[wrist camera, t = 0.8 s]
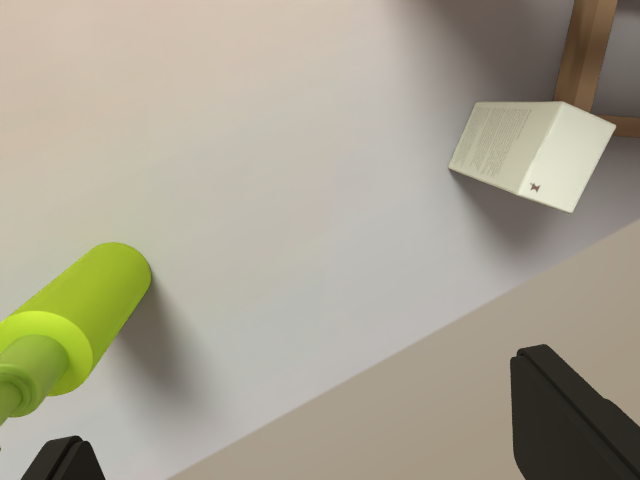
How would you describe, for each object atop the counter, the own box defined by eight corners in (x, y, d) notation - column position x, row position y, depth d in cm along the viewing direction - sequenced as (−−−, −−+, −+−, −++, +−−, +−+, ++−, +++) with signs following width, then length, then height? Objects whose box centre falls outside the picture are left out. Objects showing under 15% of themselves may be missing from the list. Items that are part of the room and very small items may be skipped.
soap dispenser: (149, 232, 39) (22, 362, 20) (152, 305, 41) (40, 488, 22) (77, 229, 38) (-125, 360, 19) (84, 303, 40) (-93, 489, 21)
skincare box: (488, 183, 40) (571, 218, 28) (445, 167, 39) (514, 196, 28) (519, 116, 38) (620, 124, 27) (475, 99, 38) (561, 99, 26)
